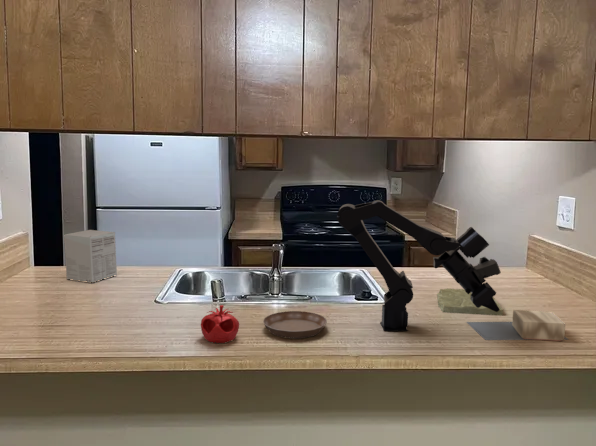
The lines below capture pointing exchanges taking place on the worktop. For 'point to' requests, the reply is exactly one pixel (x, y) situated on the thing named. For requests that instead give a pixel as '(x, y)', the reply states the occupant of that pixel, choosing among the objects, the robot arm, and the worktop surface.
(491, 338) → the rubber mat
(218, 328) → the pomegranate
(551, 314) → the maple block
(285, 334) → the plant saucer
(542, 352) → the worktop surface
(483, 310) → the decorative tile
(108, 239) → the supplement box
